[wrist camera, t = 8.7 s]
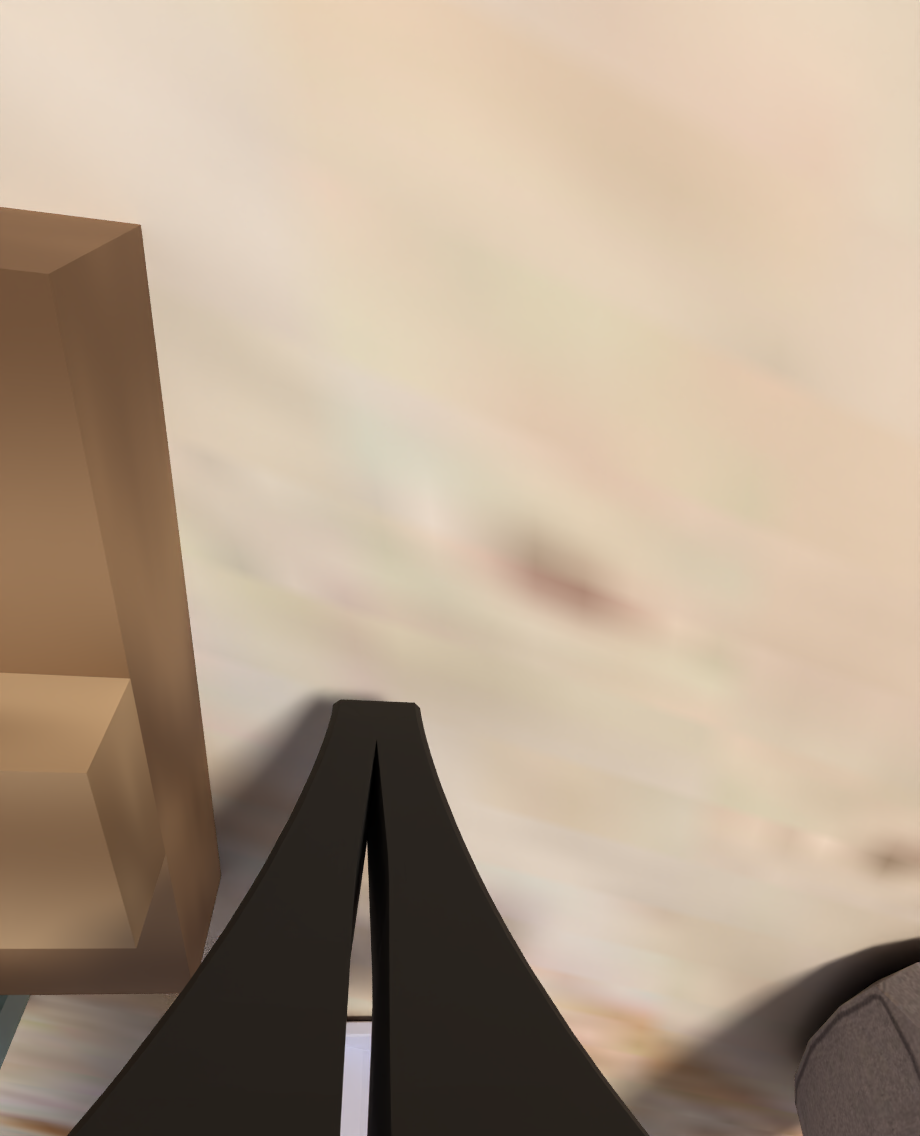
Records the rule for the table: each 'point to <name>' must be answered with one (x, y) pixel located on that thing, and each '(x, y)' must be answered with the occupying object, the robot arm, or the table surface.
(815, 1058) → the grey rounded bag
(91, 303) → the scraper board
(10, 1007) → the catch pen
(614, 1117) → the robot arm
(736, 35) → the table surface
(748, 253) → the table surface
